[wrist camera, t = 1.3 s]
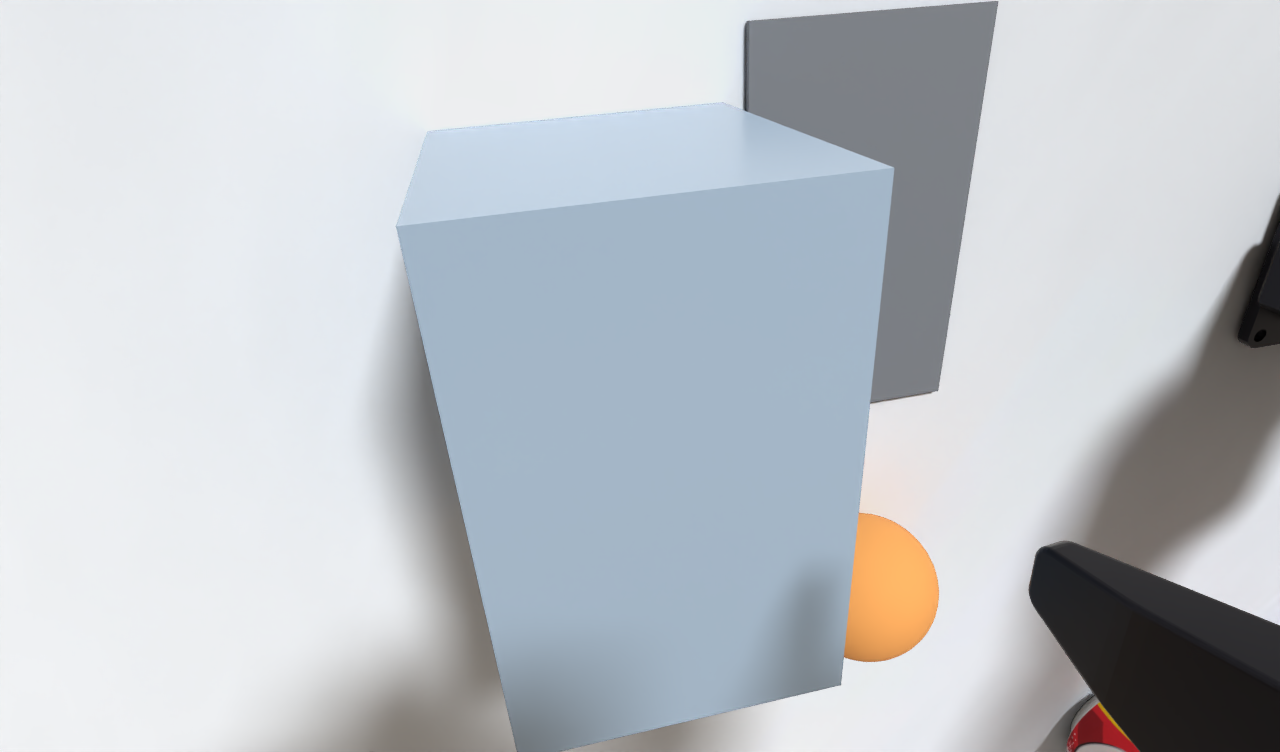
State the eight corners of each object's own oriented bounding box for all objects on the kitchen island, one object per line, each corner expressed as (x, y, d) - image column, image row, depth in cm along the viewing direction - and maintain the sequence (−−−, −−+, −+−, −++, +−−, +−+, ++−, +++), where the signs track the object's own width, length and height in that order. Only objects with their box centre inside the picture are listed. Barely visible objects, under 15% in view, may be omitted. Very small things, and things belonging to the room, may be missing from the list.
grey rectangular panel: (993, 1, 19) (998, 1, 19) (934, 388, 25) (938, 390, 25) (746, 21, 18) (749, 21, 18) (743, 420, 24) (745, 423, 24)
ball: (897, 474, 26) (981, 566, 22) (884, 575, 29) (958, 676, 24) (769, 498, 26) (831, 598, 21) (767, 600, 28) (822, 709, 24)
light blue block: (723, 102, 19) (894, 167, 11) (726, 475, 25) (840, 684, 17) (427, 131, 18) (396, 226, 10) (502, 516, 24) (519, 760, 16)
